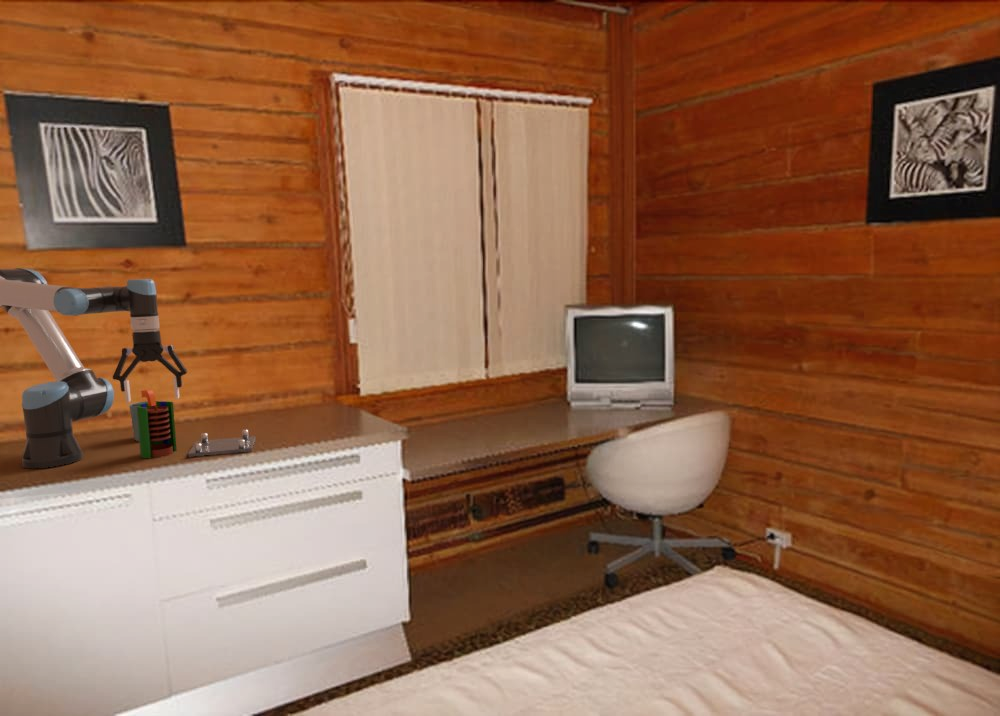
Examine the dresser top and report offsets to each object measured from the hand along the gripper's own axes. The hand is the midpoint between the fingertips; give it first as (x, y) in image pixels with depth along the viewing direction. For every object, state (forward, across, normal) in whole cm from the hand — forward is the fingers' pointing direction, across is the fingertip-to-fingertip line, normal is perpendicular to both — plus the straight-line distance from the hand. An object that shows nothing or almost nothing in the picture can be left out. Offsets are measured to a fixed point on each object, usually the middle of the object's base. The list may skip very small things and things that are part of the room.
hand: (153, 400), depth 209 cm
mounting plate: (+17, +19, 0) cm, 25 cm away
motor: (+17, 0, 0) cm, 17 cm away
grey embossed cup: (+17, -7, +24) cm, 31 cm away
